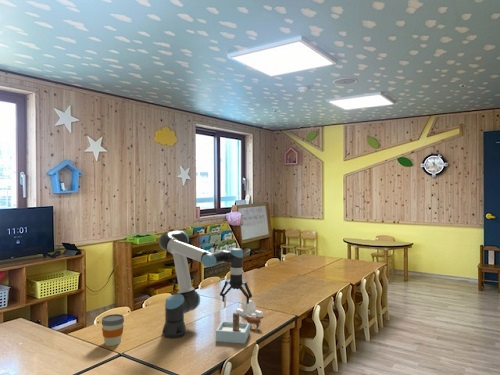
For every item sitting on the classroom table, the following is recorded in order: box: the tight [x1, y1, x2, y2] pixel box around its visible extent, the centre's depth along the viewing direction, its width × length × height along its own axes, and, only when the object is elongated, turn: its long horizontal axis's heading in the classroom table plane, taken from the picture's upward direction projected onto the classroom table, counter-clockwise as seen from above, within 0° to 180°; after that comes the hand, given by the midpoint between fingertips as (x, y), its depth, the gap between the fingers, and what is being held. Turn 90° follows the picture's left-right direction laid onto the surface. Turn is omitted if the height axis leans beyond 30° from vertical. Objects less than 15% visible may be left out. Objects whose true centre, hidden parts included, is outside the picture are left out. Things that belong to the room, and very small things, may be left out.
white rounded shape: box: [235, 299, 264, 319], centre depth 268 cm, size 18×10×11 cm, turn 45°
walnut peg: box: [232, 312, 240, 332], centre depth 226 cm, size 4×4×15 cm
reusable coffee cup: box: [101, 313, 125, 347], centre depth 218 cm, size 13×13×15 cm
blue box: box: [215, 320, 250, 344], centre depth 227 cm, size 18×16×6 cm
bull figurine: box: [243, 314, 261, 331], centre depth 243 cm, size 4×13×8 cm, turn 51°
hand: (235, 307), depth 226 cm, fingers open, 13 cm apart
